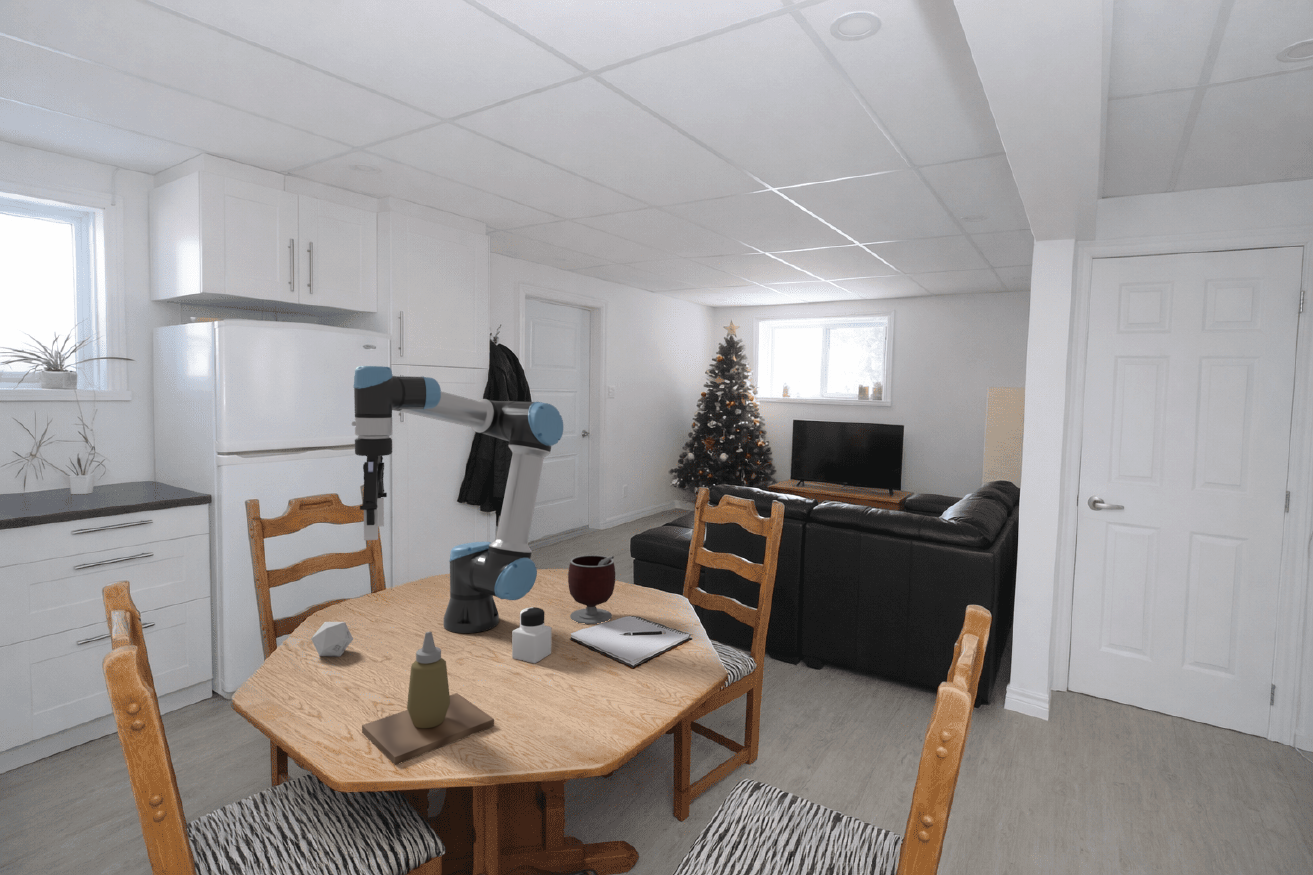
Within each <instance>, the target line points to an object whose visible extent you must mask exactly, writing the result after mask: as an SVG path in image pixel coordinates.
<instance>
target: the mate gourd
mask: <svg viewBox="0 0 1313 875" xmlns="http://www.w3.org/2000/svg"><path fill="white" fill-rule="evenodd" d="M614 558H615V556H613V555H611V556H605V555H598V554H591V555H590V554H586V555H578V556H575V557H572V558H571V559H570V560H569V562H570V563H569V566H568V571H567V572H568V573H567V576H568V577H567V584H568V590H569V593H570V596H571V597H572V598H573V600H574V601H575V602H576V603H577V604H581V605H584V606H586V607H585V608H580V609H576V610H574V611H572V612H571V613H570V615H569V616H570V617H569V618H571V619H572V620H574V621H576V622H578V623H577V624H579V623H585V624H596V625H598V624H597V623H601V622H605V621H608V620H609V619H611V618H612V617H613V614H612V613H611V611H609V610H607V609H603V608H597V606H598V605H599V606H600V605H602V604H604V603H607V602H608V600H609V599H610V598H611V597H612V595H613V593H614V591H615V590H614V589H615V586H616V568H615V561H614ZM571 619H570V620H571ZM572 620H571V621H572ZM611 620H612V619H611ZM576 622H575V623H576ZM608 622H609V621H608ZM585 624H584V625H585Z"/></svg>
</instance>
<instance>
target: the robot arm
mask: <svg viewBox="0 0 1313 875" xmlns="http://www.w3.org/2000/svg"><path fill="white" fill-rule="evenodd" d="M353 378H354V379H353V380H354V381H353V390H354V395H353V397H354V398H353V399H354V421H351V426H353V427H355V428H354V435H355V436H356V438H355V439H354V454H355V455H356V456H359V457H360V456H361V457H366V461H364V462H363V466H362V469H363V497H362V504H361V505H360V506H359V511H363V541H377V540H379V527H384V526H385V521H384V520H385V517H384V513H385V511H384V510H385V508H384V507H385V506H384V505H385V504H384V503H385V501H384V498H387V497H388V493H387V492H385V487H384V486H385V485H384V473H385V472H384V470H385V462H383V460H384V457H383V456H385V457H386V456H390V455H392V453H393V439H392V437H390V436H392V435H393V411H394V412H395V411H396V412H401V413H405V414H409V415H414V416H419V417H422V418H423V417H424V418H428V419H433V420H436V421H441V422H447V423H450V424H455V425H460V426H465V427H469V428H471V429H472V430H473V431H474V432H475V433H478V434H483V435H487V436H490V437H494V438H496V439H500V440H503V441H507V442H508V446H507V447H508V448H509V449H510V451H511V453H512V454H511V455H512V456H511V460H510V465H509V470H508V476H507V481H506V486H505V491H504V496H503V497H504V498H503V500H502V501H503V502H502V507H501V511H500V517H499V522H498V527H497V532H496V537H495V538H496V539H495V540H493V541H492V542H491V541H474V542H465V543H462V544H457V545H455V546H453V547H452V548H451V550H450V552H449V553H450V556H449V560H448V562H449V600H448V603H447V607H446V610H445V612H444V616H443V628H444V629H445V630H446V631H449V632H453V633H459V634H473V633H479V632H485V631H487V630H491V629H493V628H495V627H496V626H498V625H499V621H500V615H499V614H500V613H499V611H498V608H497V605H496V601H495V599H494V597H496V598H498V599H500V600H507V601H518V600H520V599H522V598H524V597H525V596H526V595H527V594H528V593H529V592H530V591H531V590H532V588H533V587H534V586H535V583H536V581H537V577H538V576H537V575H538V569H537V567H536V563H535V562H534V561H533V560H532V552H533V550H532V549H531V548H530V546H529V539H530V534H531V533H530V532H531V530H532V529H531V527H532V523H533V517H534V511H535V507H536V501H537V496H538V490H539V486H540V485H539V484H540V480H541V474H542V470H543V463H544V459H545V458H546V457H547V456H549V455H550V454H551V450H552V447H553V446H554V445H556V444H558V443H559V441H560V440H561V439H562V438H563V435H564V434H563V433H564V420H563V417H562V415H561V414H560V411H559V409H557V407H555V406H554V405H552V404H551V403H547V402H541V401H515V400H506V401H505V400H504V401H503V400H501V401H500V400H491V399H487V398H481V399H479V400H477V399H472V398H468V397H464V396H460V395H456V394H452V393H449V392H445V391H442V389H441V386H440V384H439V382H438V381H437V380H436V379H435V378H433V377H427V376H423V375H422V376H409V375H408V376H405V375H404V376H396V375H393V370H392V368H391V367H390V366H383V365H382V366H379V365H378V366H377V365H360V366H357V367H356V368H355V370H354V377H353Z"/></svg>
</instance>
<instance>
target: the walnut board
mask: <svg viewBox="0 0 1313 875" xmlns="http://www.w3.org/2000/svg"><path fill="white" fill-rule="evenodd" d="M449 695H450V705H449V707H448V710H447V713H446V716H445V719H444V721H443V722H442V723H441V724H440V725H438V726H435V727H432V728H418V727H415V726H414V725H413V723H412V720H411V718H410V715H409V712H408V710H407V709H406V710H403V711H400V712H399V711H398V712H397V713H394V714H391V715H387V716H385V717H382V718H380V719H376V720H374V721H370V722H368V723H364V724H362V725H361V733H362V734H363V735H364V736H365V737H366V738H367V739H368V740H369V741H370V742H371V743H372V744H373V745H374V746H375V747H376V748H377V749H378V750H379V751H380V752H381V753H382V754H383V755H384V756H385V757H386V758H387V759H388V760H389V761H390V760H391V761H392V762H391V761H390V762H391V763H392V764H393V763H394V764H393V766H397V765H400V764H402V763H404V761H405V762H407V761H409V760H412V759H415V758H417V757H419V756H422V755H425V754H426V753H430V752H431V751H435V750H438V749H440V748H442V747H445V746H448V745H450V744H452V743H455V742H457V741H460V740H463V739H465V738H467V737H470V736H472V735H473V736H474V735H475V734H478V733H480V732H482V731H486V730H488V729H491V728H493V727H495V718H494V717H492V716H491V715H489V714H488V713H487V712H485V711H484V710H482V709H481V708H479V707H478V706H476V705H475V704H473V703H472V702H471V701H470V700H468V699H467V698H465V697H464V696H462V695H461V694H460V693H458V692H456V693H453V694H449ZM406 760H407V761H406ZM401 762H402V763H401ZM399 763H400V764H399Z"/></svg>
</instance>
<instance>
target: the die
mask: <svg viewBox="0 0 1313 875" xmlns="http://www.w3.org/2000/svg"><path fill="white" fill-rule="evenodd" d="M349 629H350V628H349V627H348V625H347V623H346V621H324V623H323V624H322V625H321V626H320V627H319V628H318V630H317V631H316V632H315V633H314V634H313V636H312V637H311V638H310V639H311V642H312V644H313V646H314V648H315V650H316V652H317V654H318V656H319V657H342V655H343V654H344V652H345V651H346V649H347V648H348V647H349V645H350V644H351V643H352V641H353V640H354V638H353V635H352V634H351V631H350V630H349Z"/></svg>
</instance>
